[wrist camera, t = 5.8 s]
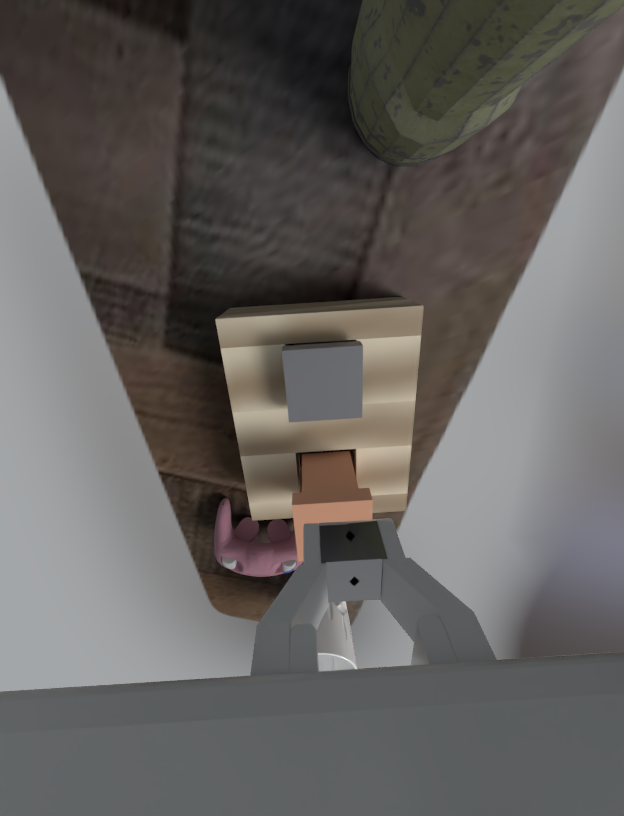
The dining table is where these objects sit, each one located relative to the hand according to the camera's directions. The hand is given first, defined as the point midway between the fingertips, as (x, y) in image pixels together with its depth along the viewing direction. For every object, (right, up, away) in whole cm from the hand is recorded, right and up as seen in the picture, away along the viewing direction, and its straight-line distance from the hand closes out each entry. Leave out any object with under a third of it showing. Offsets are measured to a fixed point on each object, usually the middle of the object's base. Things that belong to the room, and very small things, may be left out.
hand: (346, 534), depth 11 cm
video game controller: (-6, -8, +25) cm, 27 cm away
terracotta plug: (0, -1, +17) cm, 17 cm away
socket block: (0, +5, +19) cm, 19 cm away
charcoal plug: (-1, +9, +17) cm, 19 cm away
